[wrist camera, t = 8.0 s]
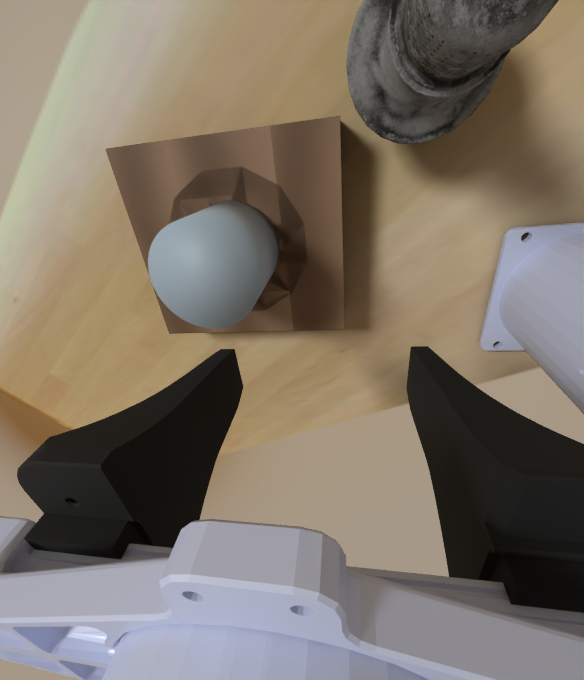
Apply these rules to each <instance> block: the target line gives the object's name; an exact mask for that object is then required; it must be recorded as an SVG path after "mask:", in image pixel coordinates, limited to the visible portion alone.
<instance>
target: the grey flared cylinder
mask: <svg viewBox="0 0 584 680" xmlns="http://www.w3.org/2000/svg"><path fill="white" fill-rule="evenodd" d="M557 2H558V0H363V2H362V4H361V6H360V8H359V10H358V11H357V15H356V18H355V21H354V25H353V28H352V31H351V35H350V38H349V46H348V56H347V75H348V84H349V91H350V94H351V97H352V99H353V102H354V105H355V108H356V110H357V112H358V113H359V115H360V116H361V118H362V119H363V121H364V122H365V124H366V125H367V126H368V127H369V128H370V129H372V130H373V131H374V132H375V133H376V134H378V135H379V136H380V137H382V138H385V139H387V140H390V141H393V142H395V143H401V144H419V143H423V142H427V141H431V140H435V139H437V138H439V137H441V136H443V135H444V134H446V133H448V132H450V131H452V130H454V129H455V128H456V127H457V126H459V125H460V124H461V123H462V122H463V121H464V120H466V119H467V118H468V117H469V116H470V115H471V114H473V112H474V111H475V110H476V109H477V107H478V106H479V105H480V103H481V102H482V101H483V100H484V98H485V97H486V96H487V95H488V93H489V91H490V90H491V88H492V86H493V84H494V82H495V80H496V78H497V76H498V74H499V72H500V70H501V68H502V65H503V62H504V58H505V57H506V55H507V54H508V53H509V51H510V49H511V48H513V47H514V46H516V45H517V44H519V43H520V42H521V41H523V40H524V39H525V38H526V37H527V36H528V35H529V34H530V33H532V32H533V31H534V30H535V29H536V28H537V27H538V26H539V25H540V23H541V22H542V21H543V20H544V18H545V17H546V16H547V14H548V13H549V12H550V11H551V9H552V8H553V7H554V6H555V4H556V3H557Z"/></svg>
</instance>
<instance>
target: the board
mask: <svg viewBox="0 0 584 680" xmlns="http://www.w3.org/2000/svg"><path fill="white" fill-rule="evenodd" d="M106 152H107V155H108V158H109V161H110V164H111V167H112V170H113V172H114V175H115V178H116V181H117V184H118V187H119V190H120V193H121V195H122V198H123V201H124V204H125V207H126V210H127V213H128V216H129V219H130V221H131V224H132V227H133V230H134V233H135V236H136V239H137V242H138V245H139V247H140V250H141V253H142V256H143V259H144V262H145V265H146V268H147V271H148V273H149V269H148V255H149V250H150V247H151V244H152V242H153V240H154V238H155V237H156V235H157V234H158V233H159V232H160V231H161V230H162V229H163V228H164V227H165V226H167V225H168V224H170V223H172V222H174V221H177V220H179V219H181V218H184V217H186V216H189V215H191V214H193V213H196V212H198V211H201V210H203V209H206V208H207V207H209V206H211V205H212V204H215V203H218V202H221V201H231V200H233V201H239V202H243V203H246V204H248V205H251V206H252V207H254V208H256V209H257V210H259V211H260V212H261V213H262V214H263V215H264V216H265V217H266V218H267V219H268V220H269V222H270V223H271V225H272V226H273V228H274V230H275V232H276V235H277V238H278V242H279V250H280V254H279V261H278V265H277V268H276V270H275V272H274V274H273V276H272V277H271V278H270V280H269V281H268V283H267V284H266V286H265V288H264V290H263V291H262V293H261V295H260V297H259V298H258V300H257V302H256V304H255V305H254V307H253V309H252V310H251V311H250V313H249V314H248V315H247V316H246V317H245V318H244V319H243V320H241V321H240V322H238V323H236V324H234V325H232V326H229V327H225V328H218V329H212V328H203V327H199V326H196V325H193V324H191V323H189V322H187V321H185V320H183V319H181V318H180V317H178V316H177V315H176V314H174V313H173V312H172V311H171V310H170V309H169V308H168V307H167V306H166V305H165V304H164V303H163V302H162V300H161V299H160V298H159V296H158V295H157V293H156V291H155V289H154V291H155V294H156V296H157V299H158V302H159V305H160V308H161V311H162V314H163V317H164V320H165V322H166V325H167V328H168V331H169V334H173V333H215V332H257V331H299V330H341V329H345V321H344V269H343V222H342V175H341V128H340V116H336V117H328V118H321V119H314V120H307V121H300V122H293V123H286V124H279V125H271V126H264V127H257V128H250V129H243V130H236V131H229V132H222V133H214V134H207V135H200V136H193V137H186V138H179V139H172V140H164V141H157V142H150V143H143V144H136V145H129V146H122V147H115V148H107V149H106ZM149 276H150V275H149ZM152 285H153V284H152ZM153 288H154V287H153Z"/></svg>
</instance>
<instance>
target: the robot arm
mask: <svg viewBox="0 0 584 680" xmlns="http://www.w3.org/2000/svg"><path fill="white" fill-rule="evenodd" d="M526 232H528V236H527V238H526V239H524V240H521V237H522V235H523V234H524V233H526ZM498 341H499V343H498V344H497V345H493V344H494V343H495V342H498ZM479 345H480V347H481V348H482V349H483V350H485V351H520V350H525V351H526V352H527V353H528V354H529V355H530V356H531V357H532V358H533V359H534V360H535V361H536V363H537V364H538V365H539V366H540V367H541V368H542V369H543V370H544V371H545V372H546V373H547V375H548V376H549V377H550V378H551V379H552V380H553V381H554V382H555V383H556V384H557V385H558V387H559V388H560V389H561V390H562V391H563V392H564V393H565V394H566V395H567V396H568V397H569V399H570V400H572V402H573V403H574V404H575V405H576V406H577V407H578V408H579V409H580V411H581V412H582V413H583V414H584V222H578V223H565V224H551V225H537V226H523V227H514V228H511V229H509V230H508V231H507V232H506V233H505V235H504V238H503V242H502V247H501V251H500V255H499V259H498V264H497V268H496V272H495V277H494V281H493V285H492V290H491V294H490V298H489V303H488V307H487V311H486V316H485V320H484V324H483V329H482V333H481V337H480V341H479ZM242 390H243V384H242V380H241V375H240V371H239V367H238V362H237V358H236V354H235V350H234V349H221V350H219V351H218V352H216V353H215V354H213V355H212V356H210V357H209V358H208V359H206V360H205V361H204V362H202V363H201V364H200V365H198V366H197V367H195V368H194V369H193V370H191V371H190V372H189V373H187V374H186V375H184V376H183V377H181V378H180V379H178V380H177V381H175V382H174V383H172V384H171V385H169V386H168V387H166V388H165V389H163V390H162V391H160V392H158V393H156V394H155V395H153V396H151V397H149V398H147V399H146V400H144V401H142V402H140V403H138V404H136V405H134V406H132V407H129V408H127V409H125V410H123V411H121V412H119V413H117V414H114V415H112V416H109V417H107V418H105V419H102V420H100V421H97V422H94V423H92V424H89V425H86V426H83V427H80V428H77V429H74V430H71V431H68V432H65V433H62V434H59V435H55V436H52V437H49V438H48V439H47V440H46V441H45V442H44V443H43V444H42V445H41V446H40V447H39V448H38V449H37V450H36V451H35V452H34V453H33V454H32V455H31V456H30V457H29V458H28V459H27V460H26V461H25V462H24V463H23V464H22V465H21V466H20V467H19V468H18V472H17V477H18V480H19V483H20V485H21V486H22V488H23V489H24V491H25V492H26V493H27V494H28V495H29V496H30V497H31V499H32V500H33V501H34V502H35V503H36V504H37V505H38V507H39V508H40V509H41V510H42V511H43V512H44V515H43V516H42V517H41V518H40V519H39V521H38V522H37V523H35V522H33V521H31V520H28V519H24V518H23V519H22V518H13V517H3V516H0V659H2V660H7V661H11V662H15V663H19V664H23V665H27V666H31V667H35V668H39V669H42V670H47V671H50V672H54V673H57V674H61V675H65V676H68V677H72V678H76V679H79V680H584V444H582V443H580V442H577V441H575V440H573V439H570V438H568V437H566V436H563V435H561V434H559V433H557V432H554V431H552V430H550V429H548V428H546V427H543V426H542V425H540V424H538V423H536V422H534V421H532V420H530V419H528V418H526V417H524V416H522V415H520V414H518V413H516V412H515V411H513V410H511V409H509V408H508V407H506V406H505V405H503V404H501V403H500V402H498V401H496V400H495V399H493V398H492V397H490V396H489V395H487V394H486V393H484V392H483V391H481V390H480V389H478V388H477V387H476V386H474V385H473V384H472V383H470V382H469V381H468V380H466V379H465V378H464V377H463V376H461V375H460V374H459V373H458V372H456V371H455V370H454V369H453V368H452V367H450V366H449V365H448V364H447V363H446V362H445V361H444V360H442V359H441V358H440V357H439V356H438V355H437V354H436V353H435V352H433V351H432V350H431V349H430V348H429V347H428V346H426V347H411V351H410V361H409V370H408V380H407V393H408V399H409V404H410V410H411V413H412V416H413V419H414V423H415V425H416V429H417V432H418V435H419V438H420V441H421V444H422V447H423V450H424V453H425V456H426V460H427V463H428V467H429V470H430V475H431V480H432V484H433V489H434V493H435V499H436V504H437V509H438V514H439V519H440V525H441V530H442V536H443V542H444V547H445V553H446V559H447V565H448V572H449V577H444V576H435V575H426V574H416V573H406V572H397V571H387V570H378V569H367V568H358V567H349V566H346V555H345V554H344V552H343V550H342V548H341V546H340V544H339V543H338V542H337V541H336V540H334V539H332V538H331V537H329V536H328V535H326V534H324V533H323V532H321V531H317V530H312V529H308V528H304V527H298V526H286V525H274V524H262V523H251V522H239V521H227V520H216V519H207V520H199V519H200V515H201V511H202V507H203V503H204V499H205V495H206V492H207V488H208V485H209V481H210V478H211V474H212V471H213V468H214V465H215V461H216V459H217V456H218V453H219V451H220V448H221V446H222V444H223V441H224V439H225V437H226V434H227V432H228V430H229V427H230V425H231V423H232V420H233V418H234V415H235V413H236V410H237V408H238V405H239V401H240V398H241V394H242Z"/></svg>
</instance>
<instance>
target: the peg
mask: <svg viewBox="0 0 584 680" xmlns="http://www.w3.org/2000/svg"><path fill="white" fill-rule="evenodd" d="M279 254H280V250H279V242H278V238H277V235H276V232H275V230H274V228H273V226H272V225H271V223H270V222H269V220H268V219H267V218H266V217H265V216H264V215H263V214H262V213H261V212H260V211H259V210H257V209H256V208H254V207H252V206H251V205H248V204H246V203H243V202H239V201H233V200H231V201H221V202H218V203H215V204H212V205H211V206H209V207H207V208H206V209H203V210H201V211H198V212H196V213H193V214H191V215H189V216H186V217H184V218H181V219H179V220H177V221H174V222H172V223H170V224H168V225H167V226H165V227H164V228H163V229H162V230H161V231H160V232H159V233H158V234H157V235H156V237H155V238H154V240H153V242H152V244H151V247H150V250H149V255H148V269H149V275H150V279H151V282H152V284H153V287H154V289H155V291H156V293H157V295H158V296H159V298H160V299H161V300H162V302H163V303H164V304H165V305H166V306H167V307H168V308H169V309H170V310H171V311H172V312H173V313H174V314H176V315H177V316H178V317H180V318H181V319H183V320H185V321H187V322H189V323H191V324H193V325H196V326H199V327H203V328H212V329H218V328H225V327H229V326H232V325H234V324H236V323H238V322H240V321H241V320H243V319H244V318H245V317H246V316H247V315H248V314H249V313H250V311H251V310H252V309H253V307H254V305H255V304H256V302H257V300H258V298H259V297H260V295H261V293H262V291H263V290H264V288H265V286H266V284H267V283H268V281H269V280H270V278H271V277H272V276H273V274H274V272H275V270H276V268H277V265H278V261H279Z"/></svg>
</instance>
